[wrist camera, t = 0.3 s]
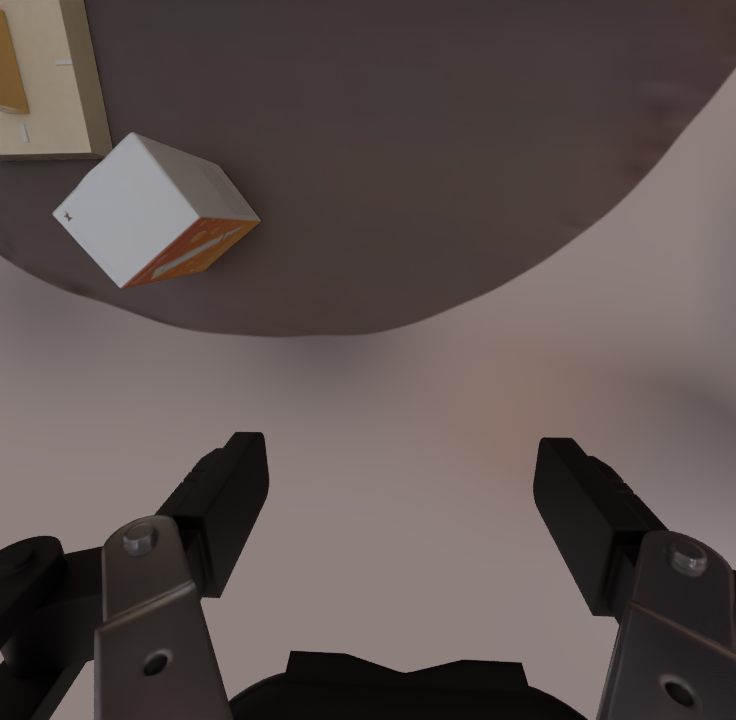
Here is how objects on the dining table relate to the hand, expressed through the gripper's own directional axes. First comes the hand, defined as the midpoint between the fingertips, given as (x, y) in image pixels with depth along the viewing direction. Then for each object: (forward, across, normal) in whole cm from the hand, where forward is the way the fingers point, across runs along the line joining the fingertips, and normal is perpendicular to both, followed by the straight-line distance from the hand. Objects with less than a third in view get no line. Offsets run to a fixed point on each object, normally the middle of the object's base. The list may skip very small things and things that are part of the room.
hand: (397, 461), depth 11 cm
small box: (+29, +18, -8) cm, 35 cm away
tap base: (+29, +32, -20) cm, 47 cm away
